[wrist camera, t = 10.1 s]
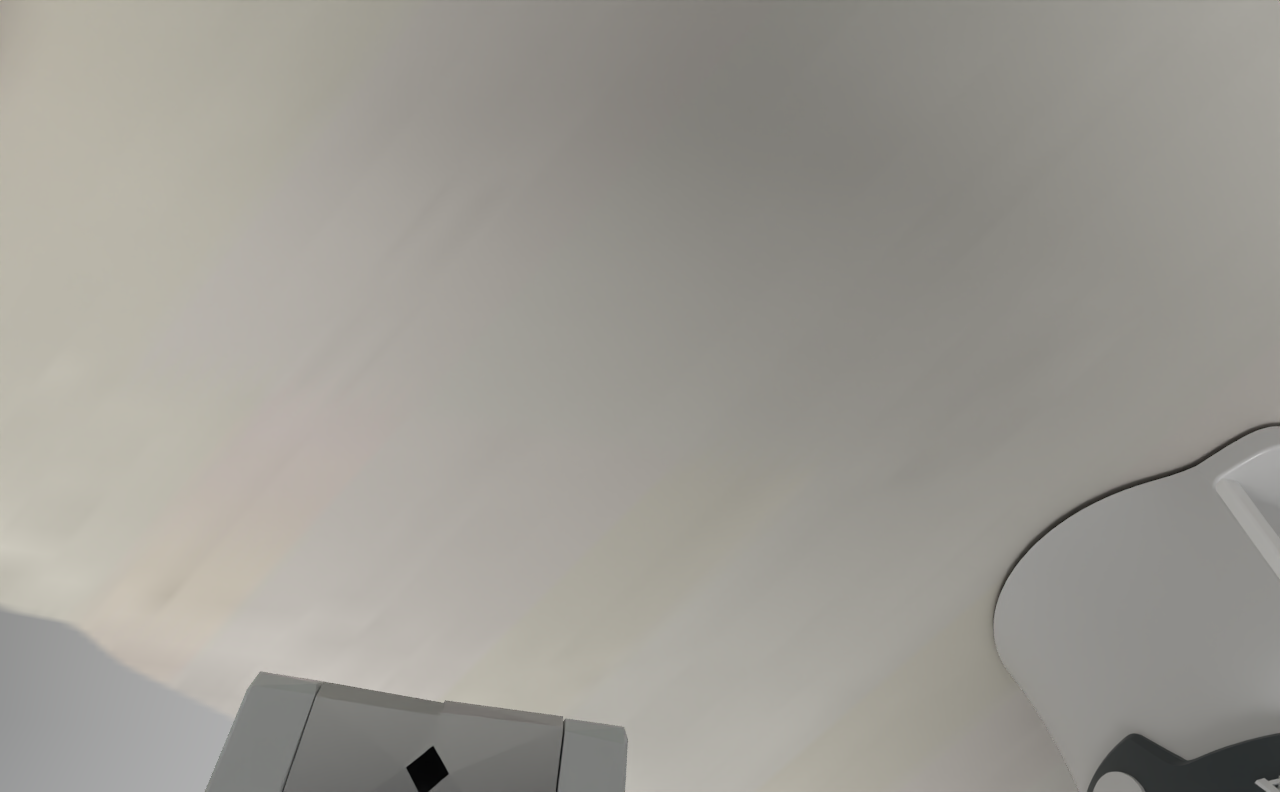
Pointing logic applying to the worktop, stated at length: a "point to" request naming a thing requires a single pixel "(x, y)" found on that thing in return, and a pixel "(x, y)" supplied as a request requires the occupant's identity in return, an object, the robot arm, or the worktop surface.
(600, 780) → the robot arm
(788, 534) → the worktop surface
